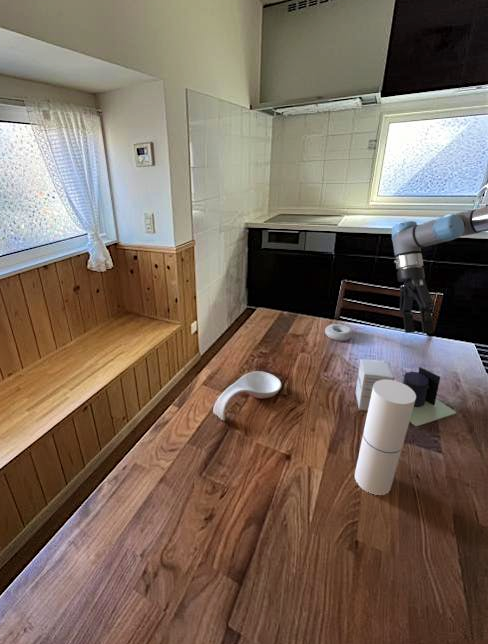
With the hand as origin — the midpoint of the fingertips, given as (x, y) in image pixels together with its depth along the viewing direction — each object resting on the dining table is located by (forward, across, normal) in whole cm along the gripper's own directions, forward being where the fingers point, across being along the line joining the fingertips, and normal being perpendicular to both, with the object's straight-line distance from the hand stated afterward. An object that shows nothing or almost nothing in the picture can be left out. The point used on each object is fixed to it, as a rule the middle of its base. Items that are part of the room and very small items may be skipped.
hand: (418, 332), depth 110 cm
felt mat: (+20, +14, -9) cm, 26 cm away
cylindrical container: (+32, +39, -28) cm, 58 cm away
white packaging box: (+19, +16, -21) cm, 33 cm away
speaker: (+20, +14, -9) cm, 26 cm away
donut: (0, -18, -21) cm, 28 cm away
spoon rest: (+17, +20, -56) cm, 61 cm away
